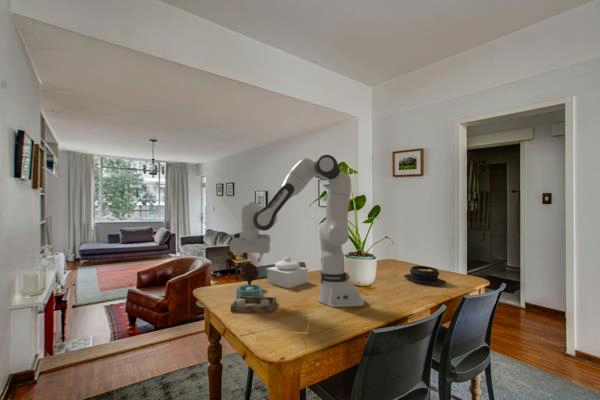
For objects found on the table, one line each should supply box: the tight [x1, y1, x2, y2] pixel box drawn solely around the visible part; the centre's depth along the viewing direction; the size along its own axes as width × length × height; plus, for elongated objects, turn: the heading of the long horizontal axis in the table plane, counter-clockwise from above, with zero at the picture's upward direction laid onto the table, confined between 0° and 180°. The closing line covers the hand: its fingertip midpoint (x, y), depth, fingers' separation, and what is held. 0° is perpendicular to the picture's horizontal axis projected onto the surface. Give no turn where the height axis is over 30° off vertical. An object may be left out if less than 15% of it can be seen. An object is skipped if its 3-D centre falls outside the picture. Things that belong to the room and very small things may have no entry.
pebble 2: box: [261, 299, 269, 306], centre depth 128 cm, size 4×4×4 cm
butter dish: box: [266, 256, 309, 289], centre depth 173 cm, size 18×18×16 cm
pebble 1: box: [236, 298, 245, 305], centre depth 129 cm, size 4×4×4 cm
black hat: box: [403, 265, 447, 285], centre depth 178 cm, size 25×19×8 cm
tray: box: [230, 296, 277, 314], centre depth 131 cm, size 18×13×3 cm
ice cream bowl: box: [239, 261, 260, 285], centre depth 161 cm, size 11×11×15 cm
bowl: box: [236, 283, 263, 299], centre depth 146 cm, size 12×12×5 cm
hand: (250, 261), depth 146 cm, fingers open, 8 cm apart
